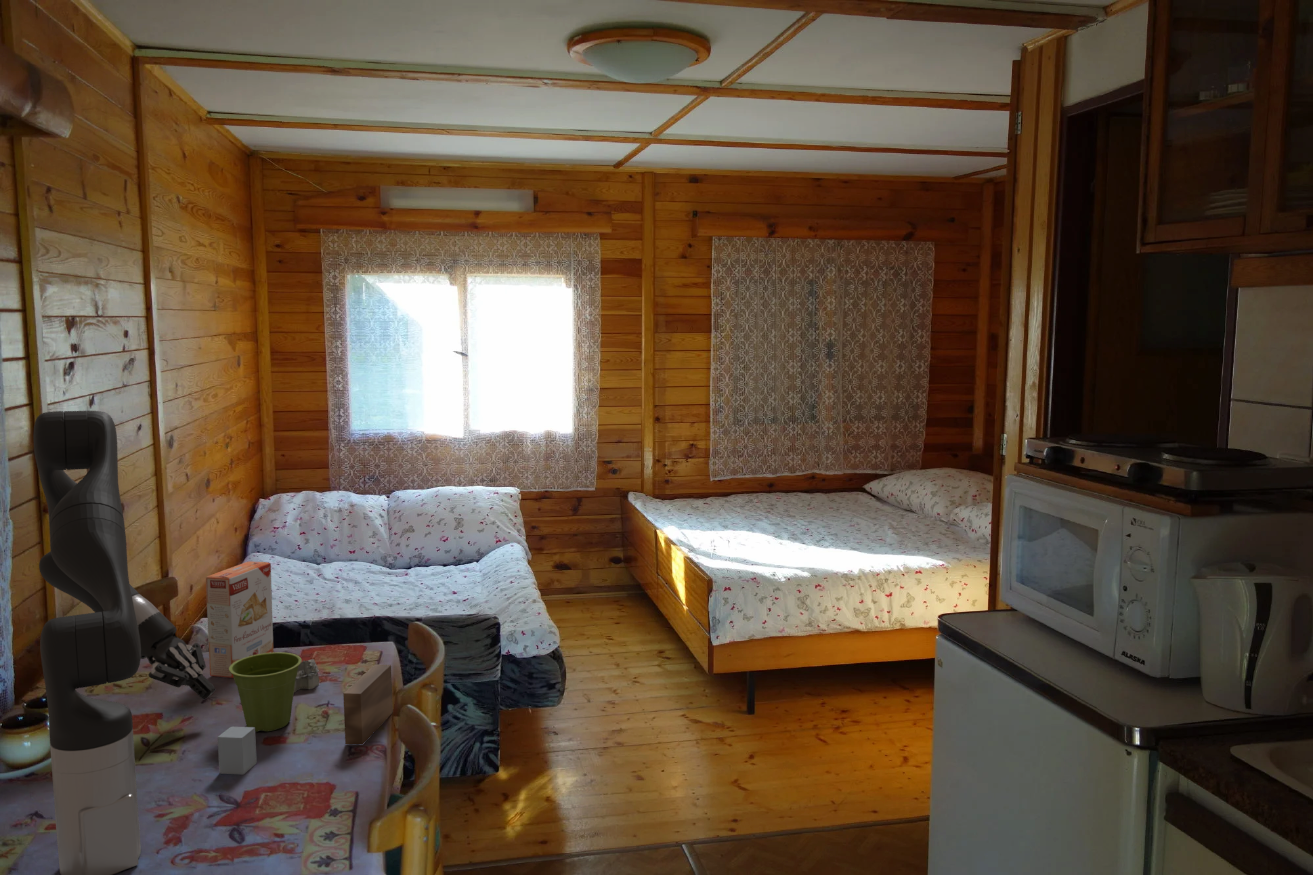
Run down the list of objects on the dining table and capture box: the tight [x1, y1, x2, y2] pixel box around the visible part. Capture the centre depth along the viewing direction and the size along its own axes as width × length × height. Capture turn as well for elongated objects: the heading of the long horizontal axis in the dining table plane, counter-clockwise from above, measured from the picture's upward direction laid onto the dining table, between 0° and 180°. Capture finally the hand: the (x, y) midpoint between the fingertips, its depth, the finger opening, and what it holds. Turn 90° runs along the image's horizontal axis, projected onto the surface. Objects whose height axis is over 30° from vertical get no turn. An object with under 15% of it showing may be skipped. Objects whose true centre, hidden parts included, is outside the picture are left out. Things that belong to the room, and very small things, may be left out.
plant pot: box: [229, 651, 303, 733], centre depth 167 cm, size 12×12×11 cm
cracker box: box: [205, 560, 274, 679], centre depth 196 cm, size 14×6×21 cm, turn 168°
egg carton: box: [294, 658, 320, 693], centre depth 188 cm, size 11×8×4 cm
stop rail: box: [342, 663, 394, 745], centre depth 166 cm, size 3×14×9 cm, turn 175°
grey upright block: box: [217, 726, 257, 775], centre depth 151 cm, size 4×4×6 cm
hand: (210, 694), depth 168 cm, fingers closed
